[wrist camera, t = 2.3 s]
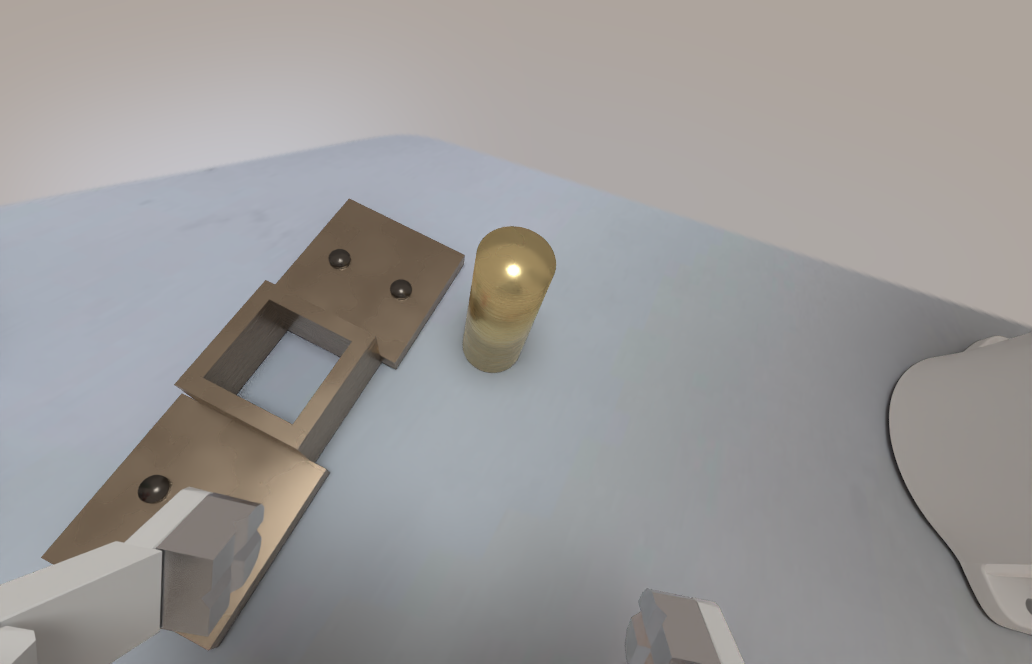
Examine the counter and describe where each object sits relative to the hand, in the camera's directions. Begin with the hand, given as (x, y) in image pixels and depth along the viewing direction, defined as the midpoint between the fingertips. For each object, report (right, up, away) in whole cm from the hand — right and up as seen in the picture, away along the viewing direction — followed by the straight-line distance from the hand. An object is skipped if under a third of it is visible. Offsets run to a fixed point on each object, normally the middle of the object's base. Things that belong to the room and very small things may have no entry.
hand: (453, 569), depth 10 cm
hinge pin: (0, +4, +18) cm, 19 cm away
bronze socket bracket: (-10, +2, +16) cm, 19 cm away
